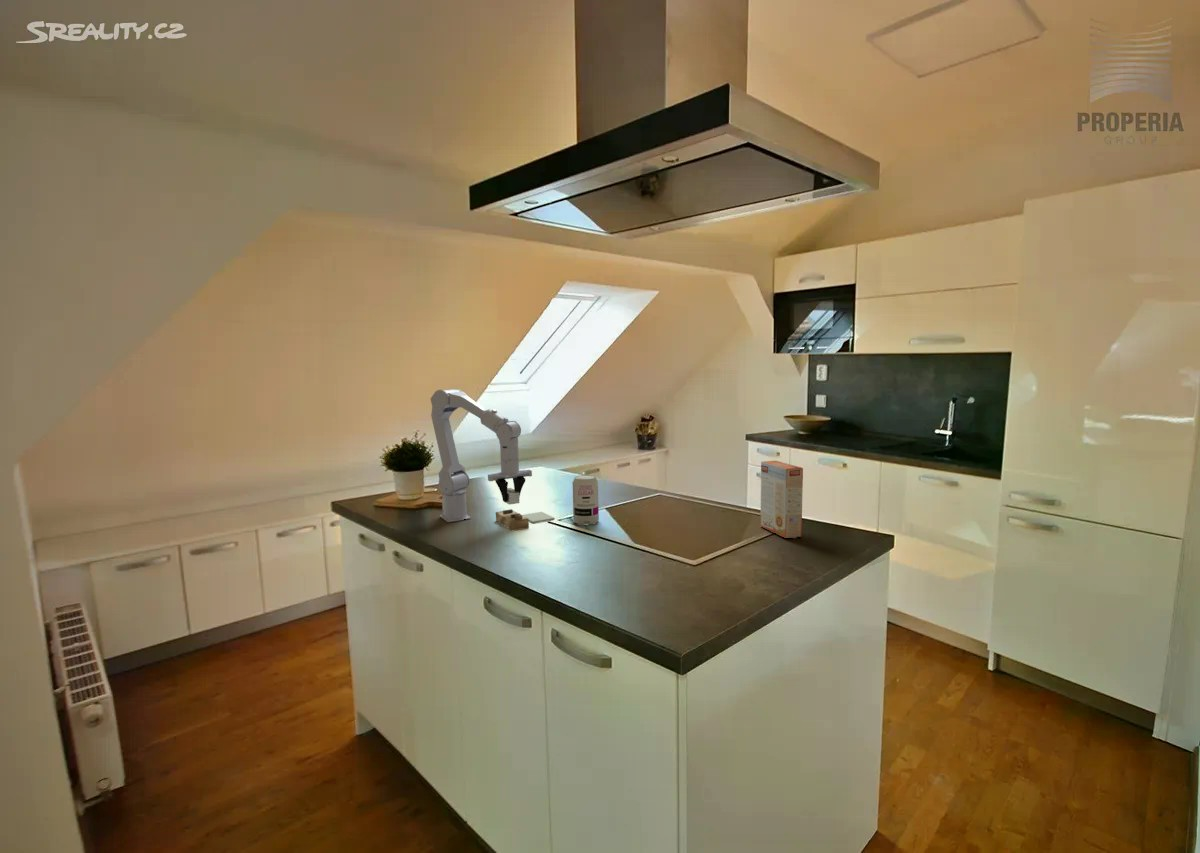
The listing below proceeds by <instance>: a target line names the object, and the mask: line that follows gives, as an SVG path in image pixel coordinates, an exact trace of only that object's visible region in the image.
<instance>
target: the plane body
mask: <svg viewBox="0 0 1200 853" xmlns="http://www.w3.org/2000/svg"><path fill="white" fill-rule="evenodd" d="M523 515H524V514H521V513H519V512H517V511H515V510H513V509H512V508H511V509H503V510H502V511H496V512H495V521H496V522H497V521H498V522H497V523H499V522H500V523H501V525H502V524H503V526H504V525H505V526H504V527H506V528H507V527H508V529H509V530H511V531H512V530H514V531H517V530H524V529H529V528H530V524H529V519H528V518H526V517H525V516H523ZM500 523H499V524H500Z"/></svg>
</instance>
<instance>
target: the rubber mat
mask: <svg viewBox="0 0 1200 853" xmlns="http://www.w3.org/2000/svg"><path fill="white" fill-rule="evenodd" d="M522 515H523V516H525V517H526V518H528V519H529V522H530V523H531V524H537V523H542V522H549V521H554V520H553V519H555V517H554V516H552V515H550V514H548V513H546V512H543V511H537V512H536V511H535V512H532V513H531V512H530V513H525V514H522ZM548 520H549V521H548Z"/></svg>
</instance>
